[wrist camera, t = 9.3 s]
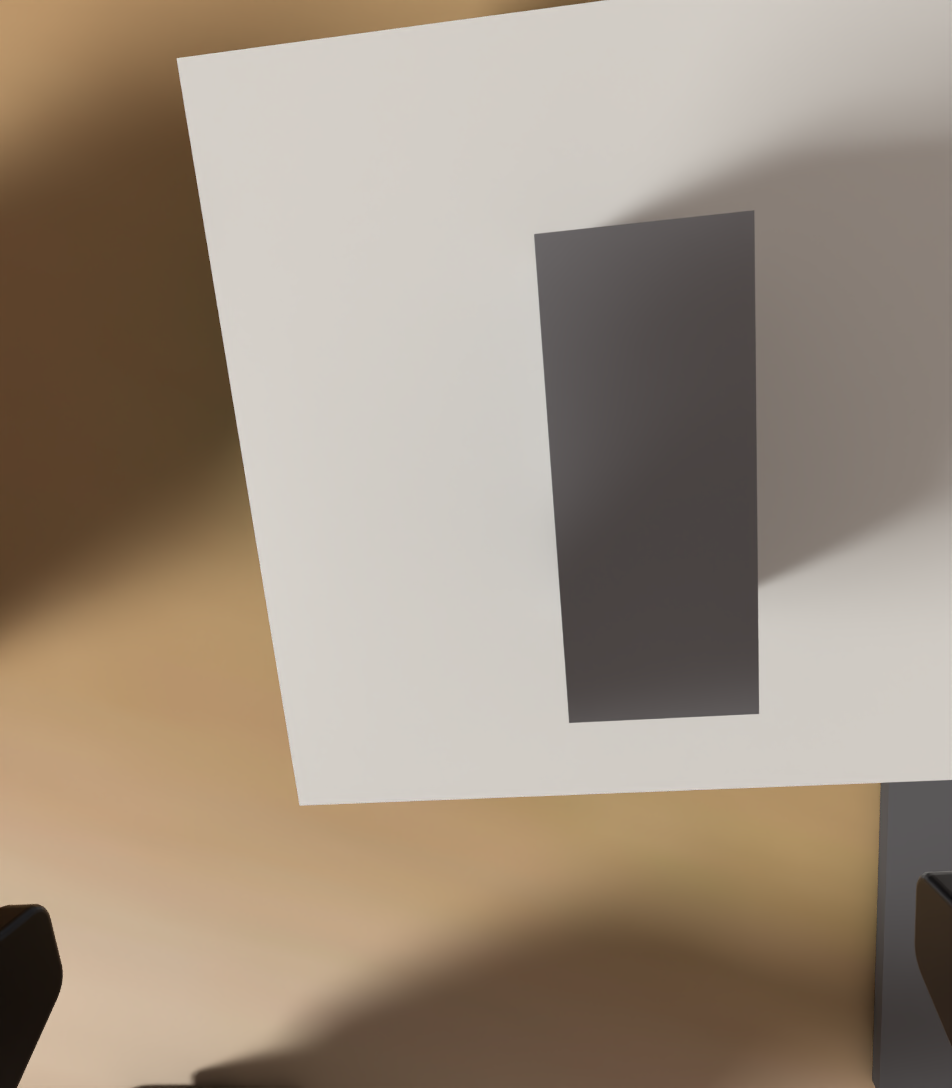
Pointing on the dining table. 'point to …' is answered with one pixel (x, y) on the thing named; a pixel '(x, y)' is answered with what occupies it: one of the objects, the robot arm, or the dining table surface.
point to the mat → (908, 936)
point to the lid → (595, 392)
